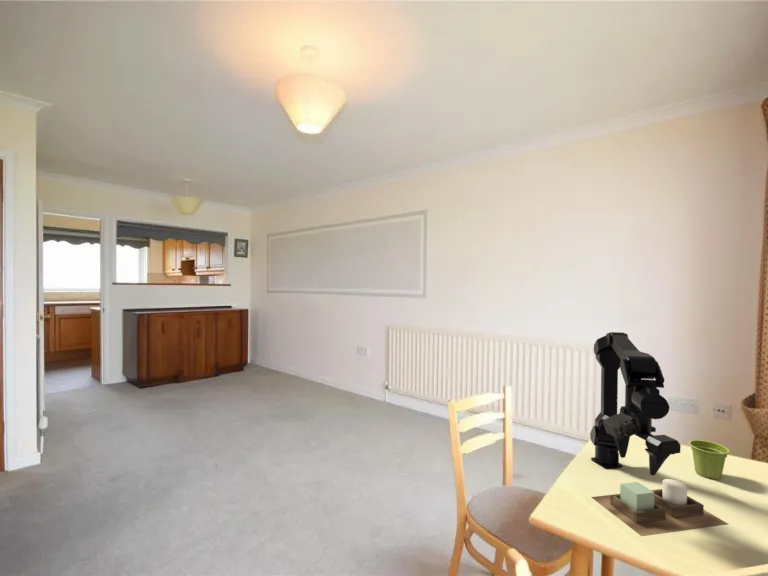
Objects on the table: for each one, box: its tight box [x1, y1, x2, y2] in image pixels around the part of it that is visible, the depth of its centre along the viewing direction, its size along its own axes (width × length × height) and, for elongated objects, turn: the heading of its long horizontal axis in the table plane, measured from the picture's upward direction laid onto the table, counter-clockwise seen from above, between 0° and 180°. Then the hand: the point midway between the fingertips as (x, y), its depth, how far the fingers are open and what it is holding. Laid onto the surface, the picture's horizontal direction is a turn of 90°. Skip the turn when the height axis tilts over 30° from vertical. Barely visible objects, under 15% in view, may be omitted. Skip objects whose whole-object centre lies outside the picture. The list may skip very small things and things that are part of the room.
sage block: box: [619, 481, 654, 511], centre depth 97 cm, size 5×5×6 cm
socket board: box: [591, 488, 729, 537], centre depth 98 cm, size 16×24×4 cm, turn 101°
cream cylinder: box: [661, 478, 688, 506], centre depth 99 cm, size 5×5×6 cm
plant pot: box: [688, 439, 731, 480], centre depth 117 cm, size 9×9×9 cm
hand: (637, 465), depth 99 cm, fingers open, 9 cm apart
